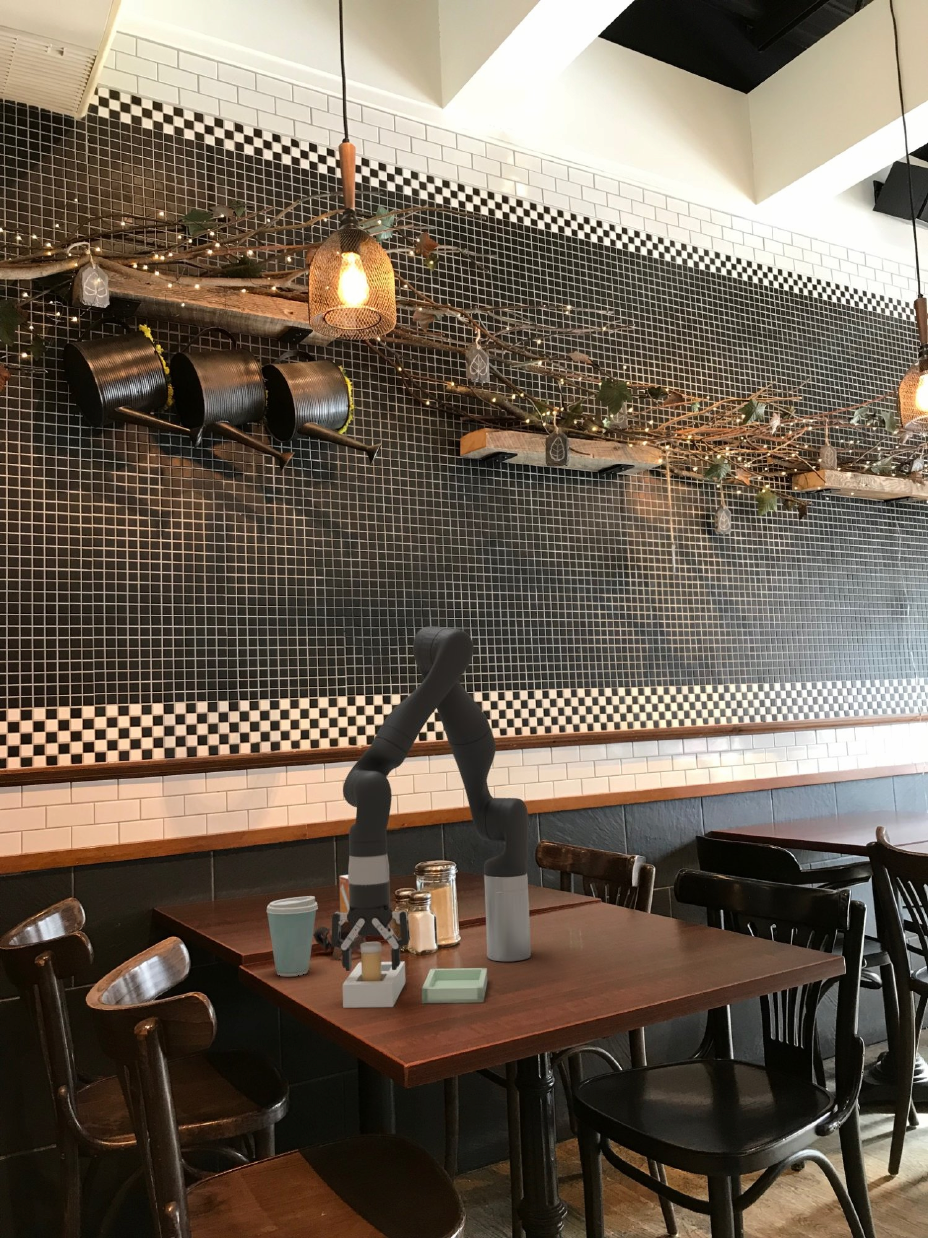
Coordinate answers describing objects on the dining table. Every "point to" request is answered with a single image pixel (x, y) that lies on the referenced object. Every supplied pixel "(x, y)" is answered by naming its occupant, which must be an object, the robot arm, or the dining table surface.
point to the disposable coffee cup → (292, 933)
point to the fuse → (371, 961)
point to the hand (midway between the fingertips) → (371, 969)
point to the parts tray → (455, 985)
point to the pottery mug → (345, 932)
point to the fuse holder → (374, 987)
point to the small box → (344, 894)
